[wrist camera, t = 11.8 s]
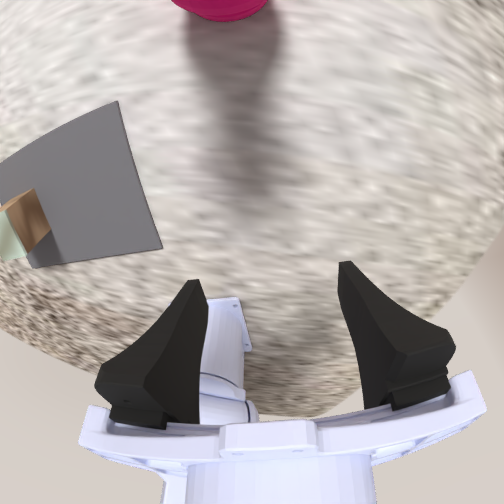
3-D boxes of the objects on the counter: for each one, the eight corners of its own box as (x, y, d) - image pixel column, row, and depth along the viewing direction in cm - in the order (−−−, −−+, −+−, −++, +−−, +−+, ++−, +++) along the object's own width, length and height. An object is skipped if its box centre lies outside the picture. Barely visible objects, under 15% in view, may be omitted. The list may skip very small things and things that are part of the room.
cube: (3, 261, 20) (27, 236, 24) (26, 255, 19) (51, 228, 24) (-17, 221, 17) (10, 199, 21) (4, 210, 17) (34, 187, 21)
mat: (162, 246, 25) (161, 248, 25) (33, 267, 27) (32, 268, 27) (117, 100, 17) (116, 100, 17) (-10, 170, 19) (-12, 171, 19)
